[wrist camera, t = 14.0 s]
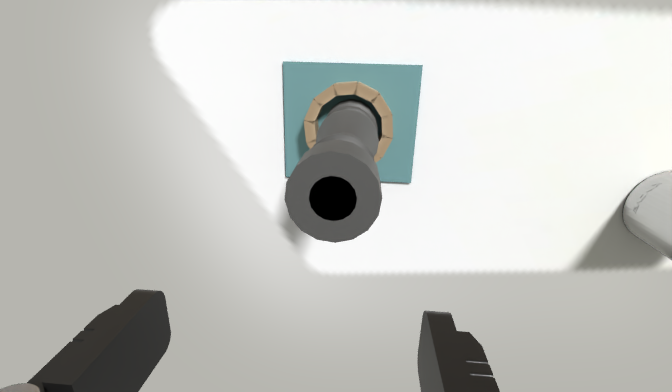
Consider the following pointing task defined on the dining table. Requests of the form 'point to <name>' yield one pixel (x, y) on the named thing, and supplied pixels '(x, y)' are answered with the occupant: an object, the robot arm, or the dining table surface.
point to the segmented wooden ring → (349, 89)
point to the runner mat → (389, 80)
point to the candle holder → (338, 176)
